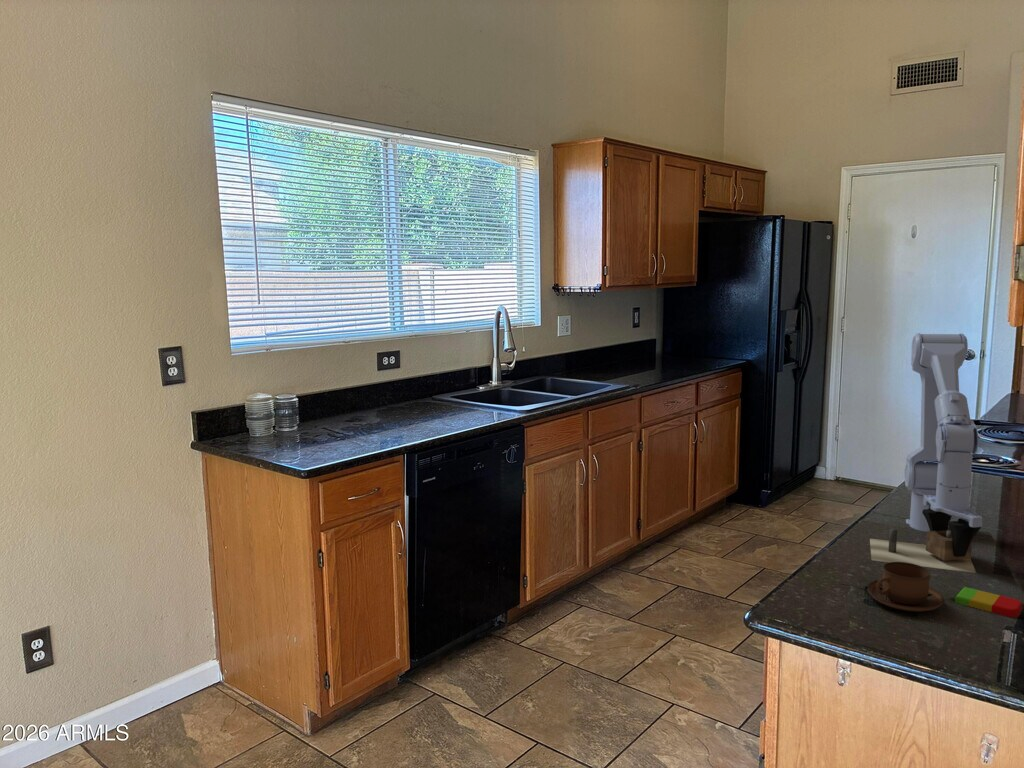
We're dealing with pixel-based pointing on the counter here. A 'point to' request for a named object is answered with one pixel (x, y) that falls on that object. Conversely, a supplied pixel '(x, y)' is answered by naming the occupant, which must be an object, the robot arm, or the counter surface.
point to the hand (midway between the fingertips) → (948, 550)
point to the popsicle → (989, 602)
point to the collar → (943, 546)
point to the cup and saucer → (905, 588)
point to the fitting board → (914, 554)
